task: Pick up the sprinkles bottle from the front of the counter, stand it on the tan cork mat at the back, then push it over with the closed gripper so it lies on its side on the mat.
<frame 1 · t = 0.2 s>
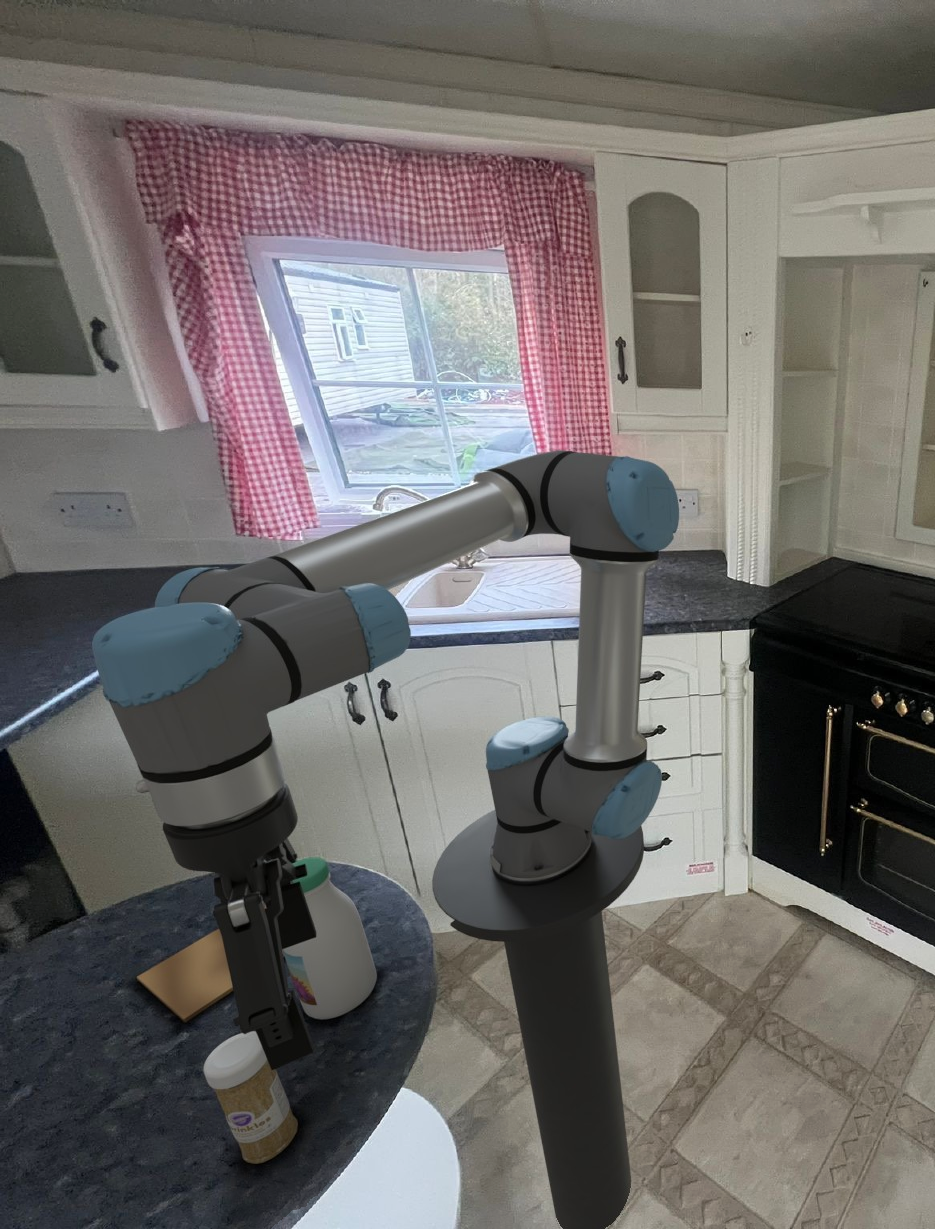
hand: (296, 994, 59), 22 cm above the countertop, tool pointing down, fingers open, 13 cm apart
milk bottle: (342, 994, 83), on the countertop
sprinkles bottle: (272, 1141, 67), on the countertop
cork mat: (237, 952, 87), on the countertop
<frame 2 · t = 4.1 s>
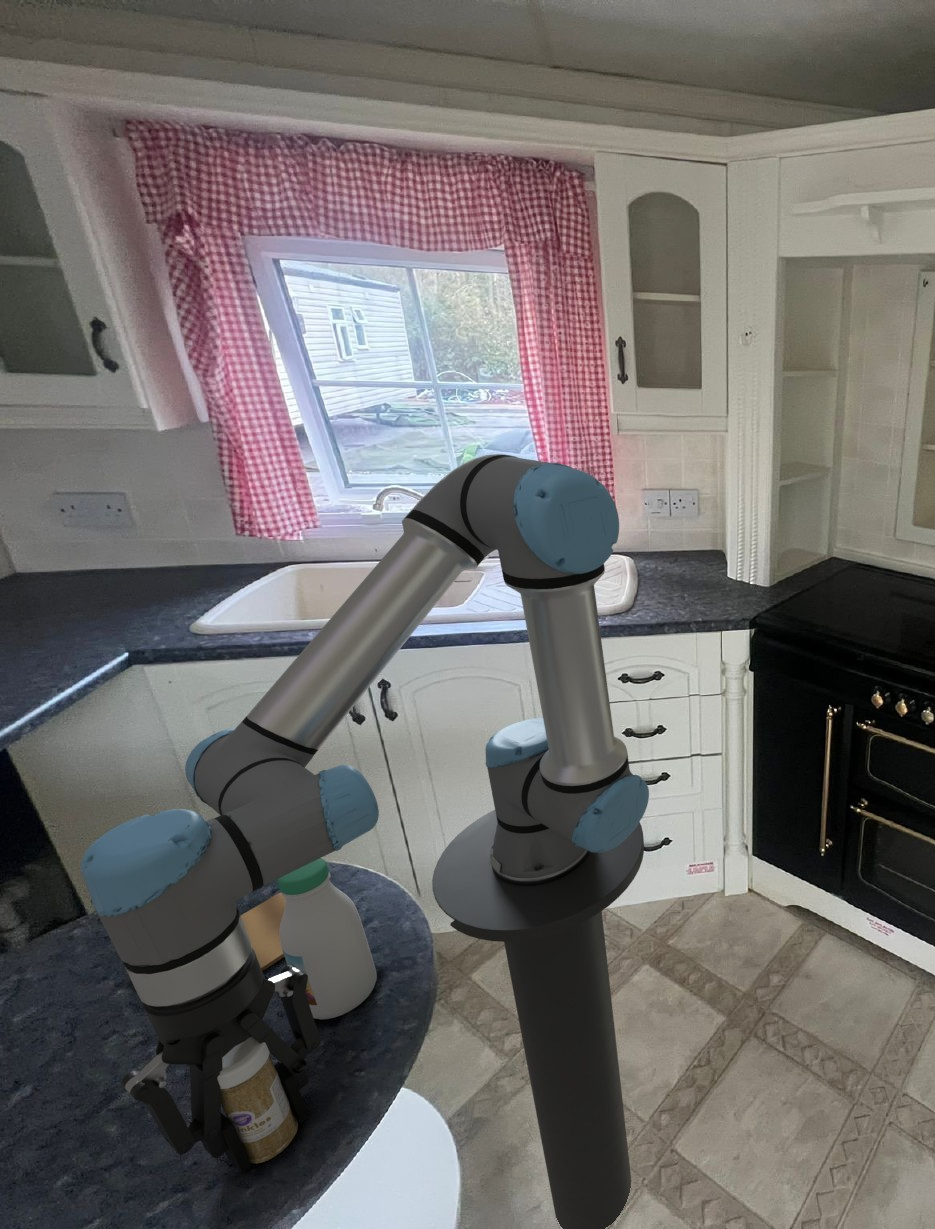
hand: (269, 1136, 67), 1 cm above the countertop, tool pointing down, fingers closed on sprinkles bottle, 4 cm apart
sprinkles bottle: (272, 1141, 67), on the countertop, touching gripper
everything else where it was.
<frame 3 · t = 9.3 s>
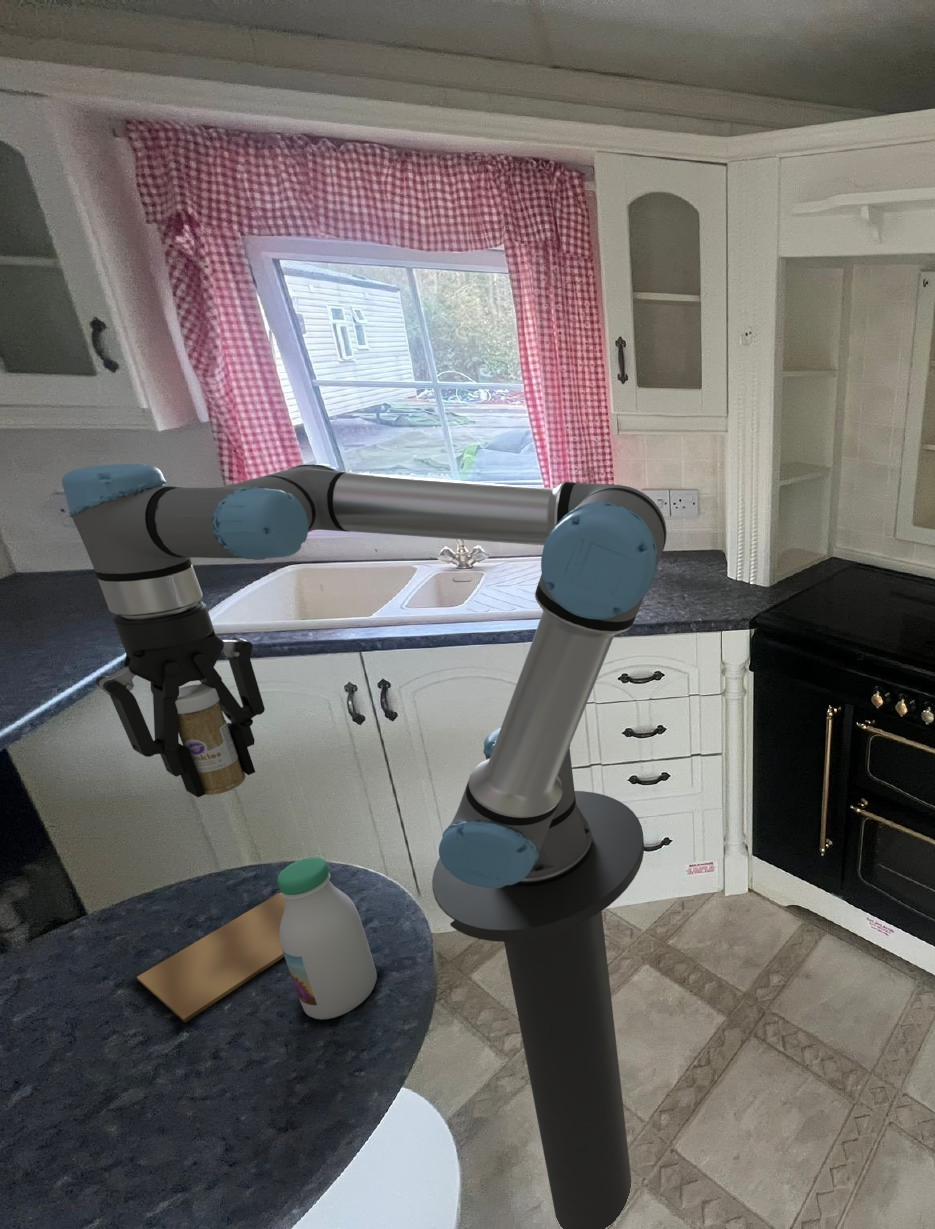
hand: (221, 780, 81), 25 cm above the countertop, tool pointing down, fingers closed on sprinkles bottle, 4 cm apart
sprinkles bottle: (224, 786, 82), point 24 cm above the countertop, touching gripper
everything else where it was.
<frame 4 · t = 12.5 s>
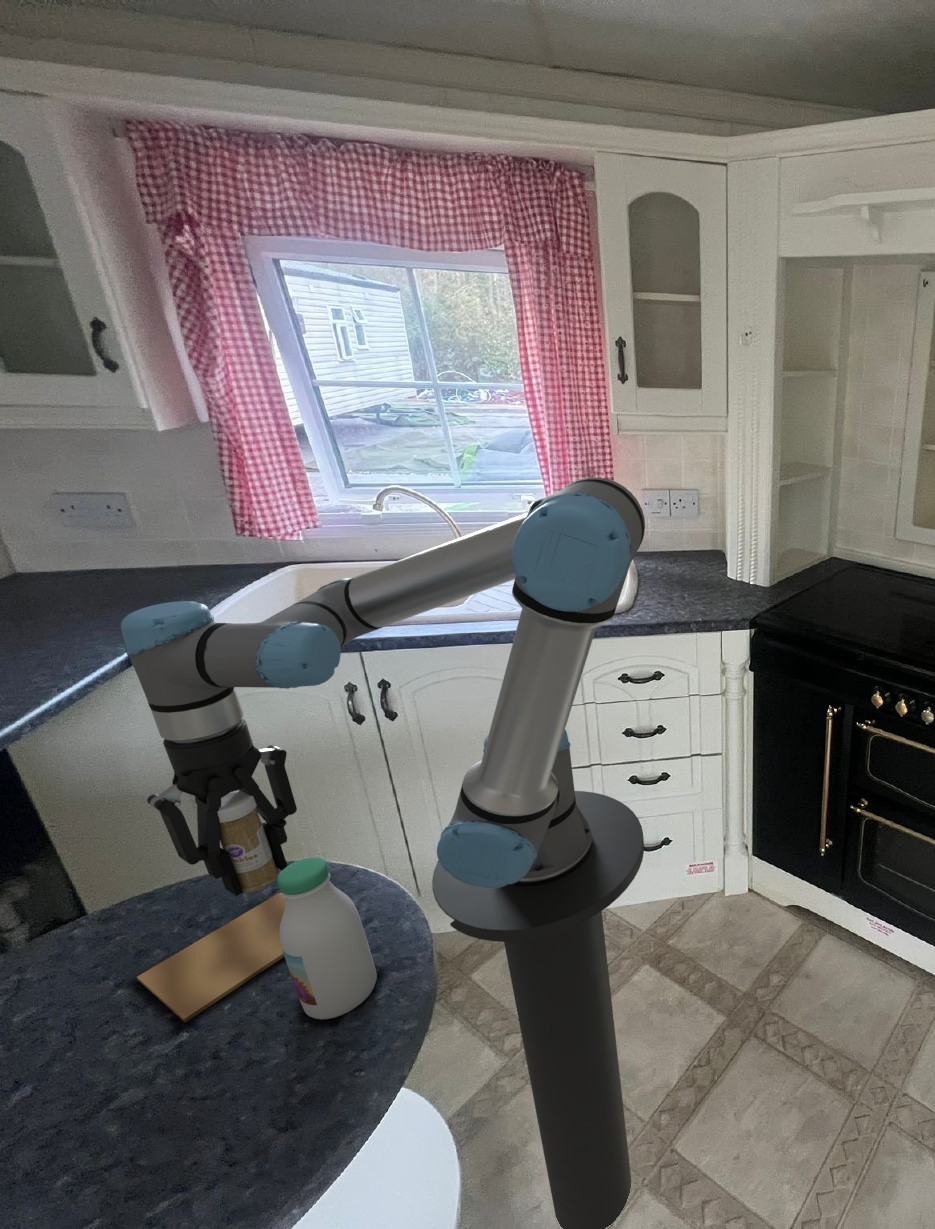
hand: (257, 877, 88), 9 cm above the countertop, tool pointing down, fingers closed on sprinkles bottle, 4 cm apart
sprinkles bottle: (259, 881, 88), point 8 cm above the countertop, touching gripper
everything else where it was.
when the fingers open (1 cm above the countertop, at t = 14.5 s): sprinkles bottle stays where it is, resting on cork mat.
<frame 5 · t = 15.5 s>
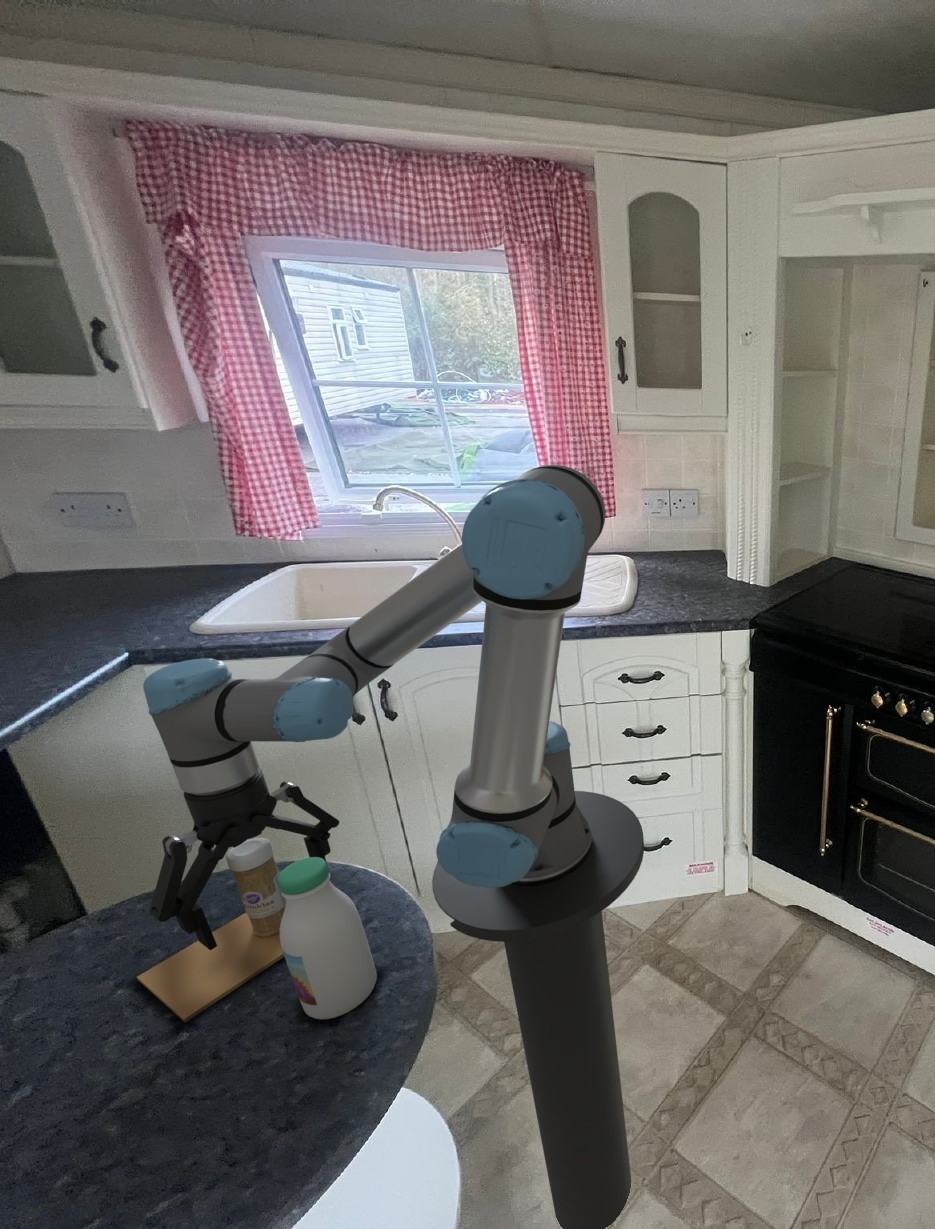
hand: (269, 907, 90), 4 cm above the countertop, tool pointing down, fingers open, 13 cm apart
sprinkles bottle: (275, 925, 91), resting on cork mat
everything else where it was.
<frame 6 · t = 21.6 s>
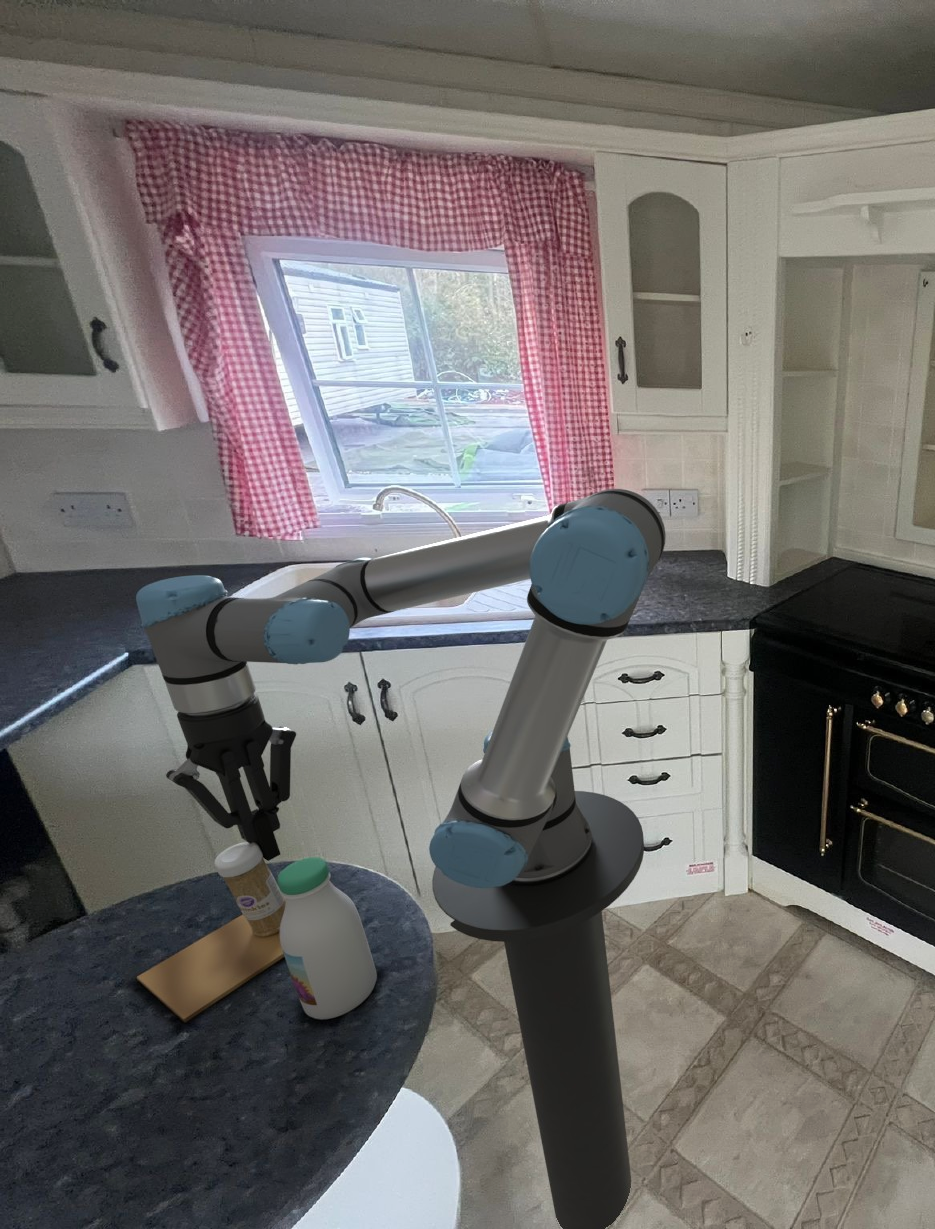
hand: (269, 853, 88), 12 cm above the countertop, tool pointing down, fingers closed
sprinkles bottle: (275, 924, 91), point 1 cm above the countertop, touching cork mat, gripper
everything else where it was.
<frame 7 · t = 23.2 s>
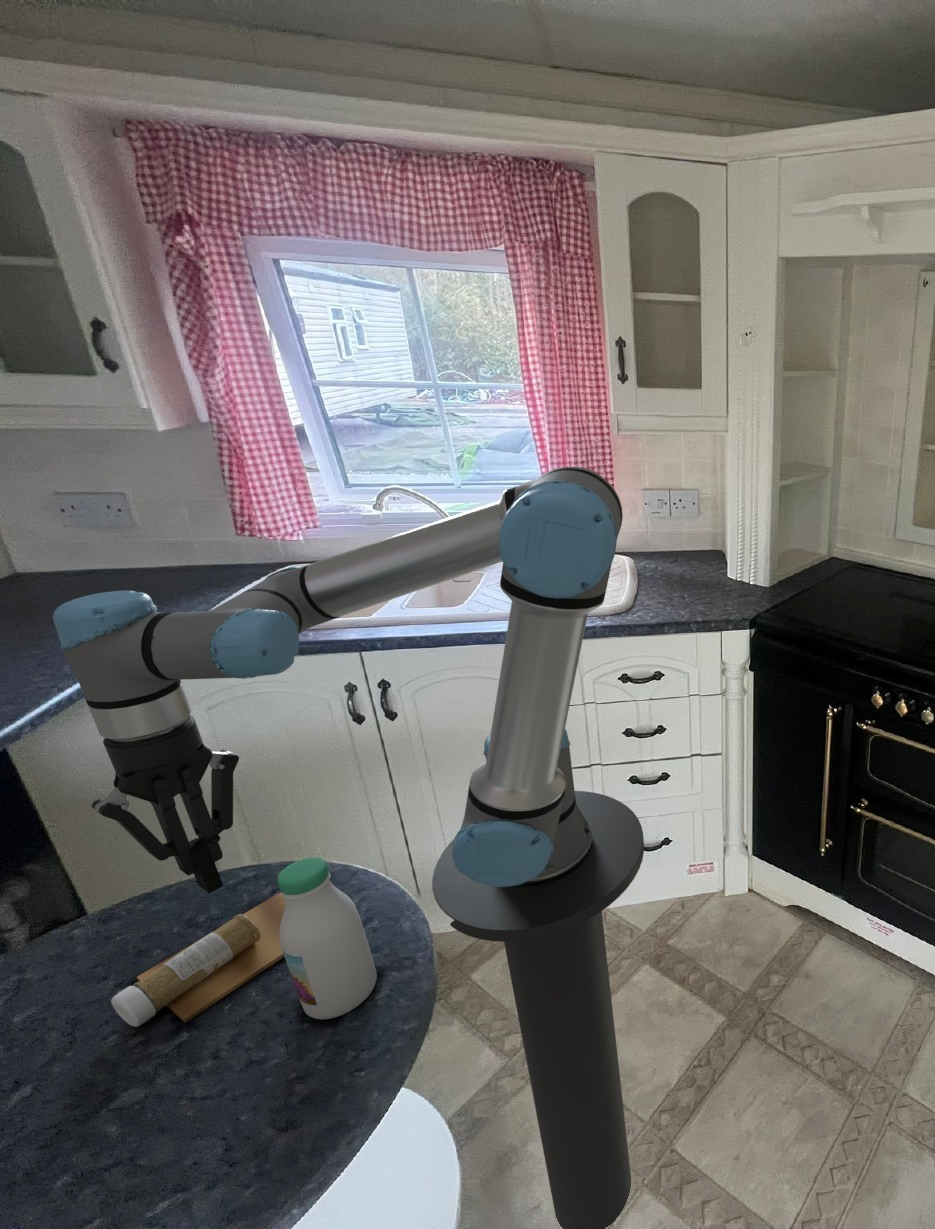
hand: (210, 885, 83), 12 cm above the countertop, tool pointing down, fingers closed
sprinkles bottle: (251, 924, 88), point 3 cm above the countertop, touching cork mat
everything else where it was.
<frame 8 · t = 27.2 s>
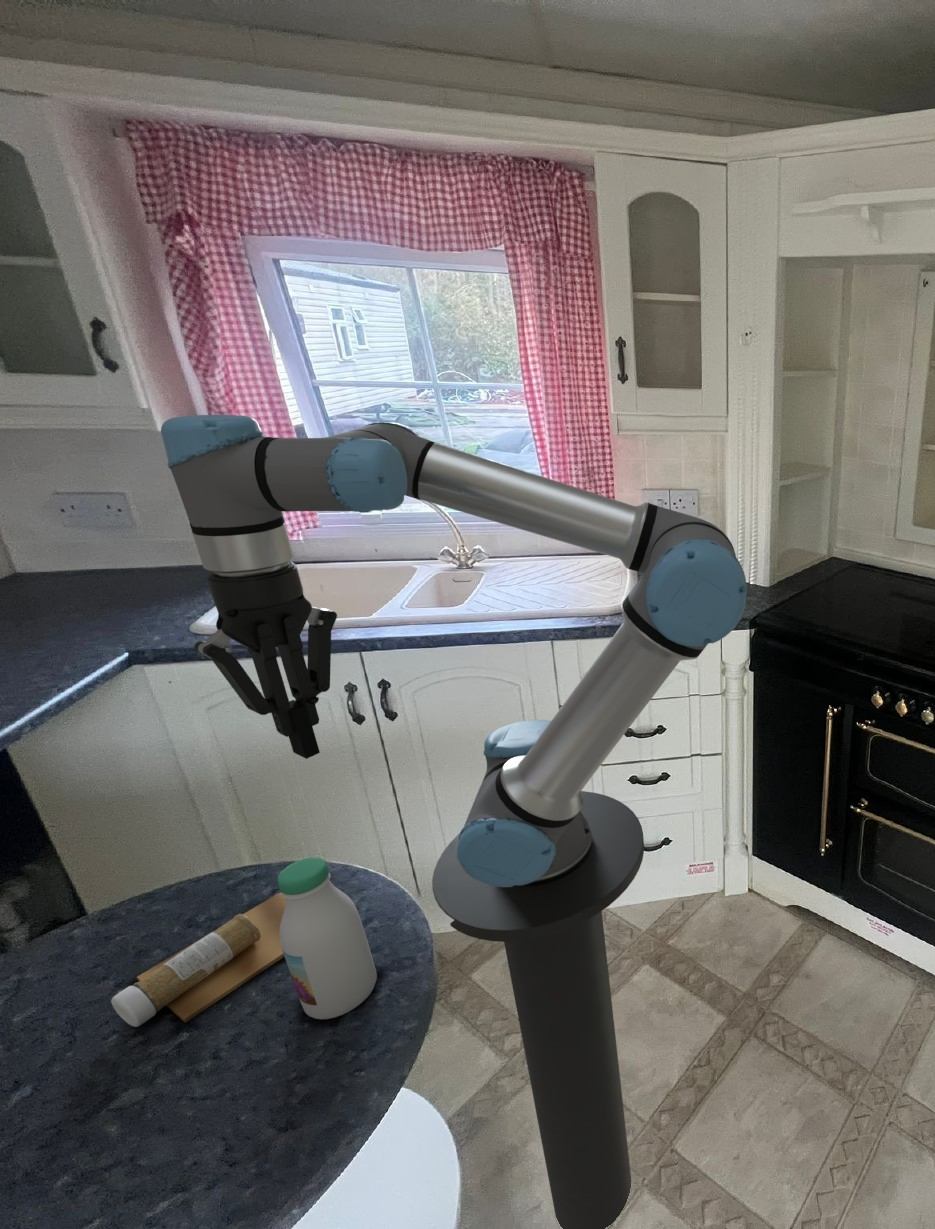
hand: (306, 752, 79), 30 cm above the countertop, tool pointing down, fingers closed
nothing on the countertop moved.
at the end: sprinkles bottle tilted 92°; sprinkles bottle inside the target area on the cork mat (3.2 cm from its centre), point 2.9 cm above the cork mat's base; the gripper is holding nothing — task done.
